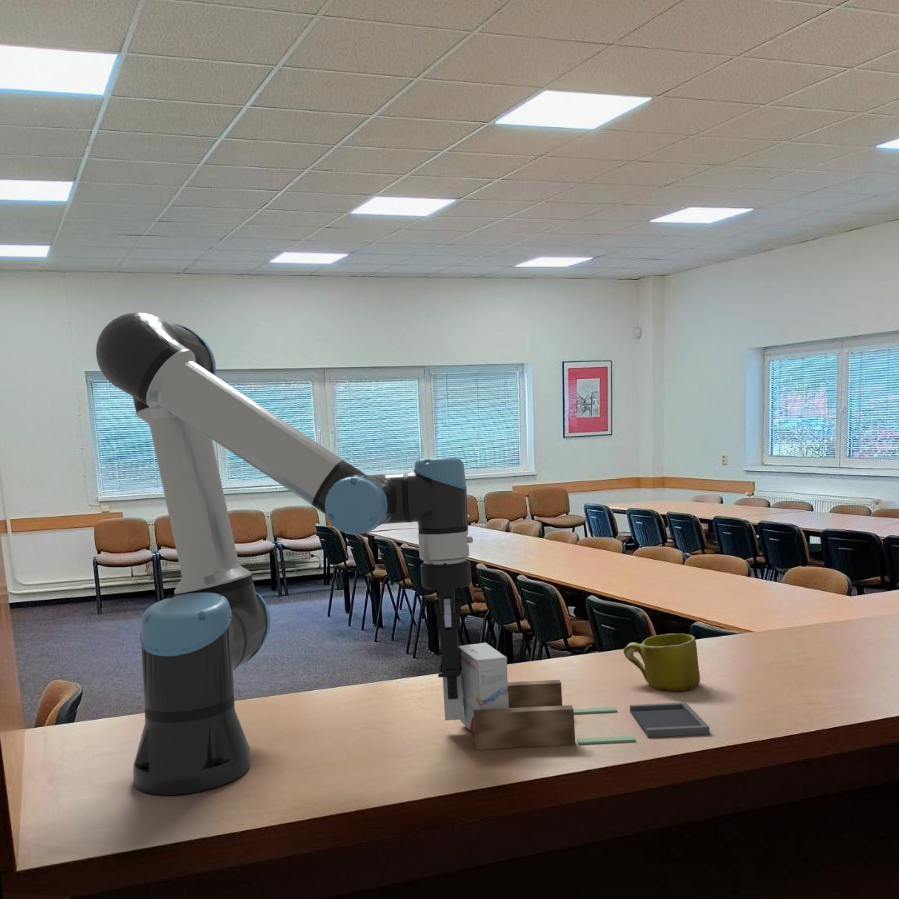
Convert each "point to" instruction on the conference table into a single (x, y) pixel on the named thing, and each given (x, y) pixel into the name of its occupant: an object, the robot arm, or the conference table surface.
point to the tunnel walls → (527, 718)
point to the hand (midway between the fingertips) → (454, 717)
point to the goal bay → (602, 739)
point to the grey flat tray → (668, 719)
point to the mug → (667, 661)
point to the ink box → (482, 680)
